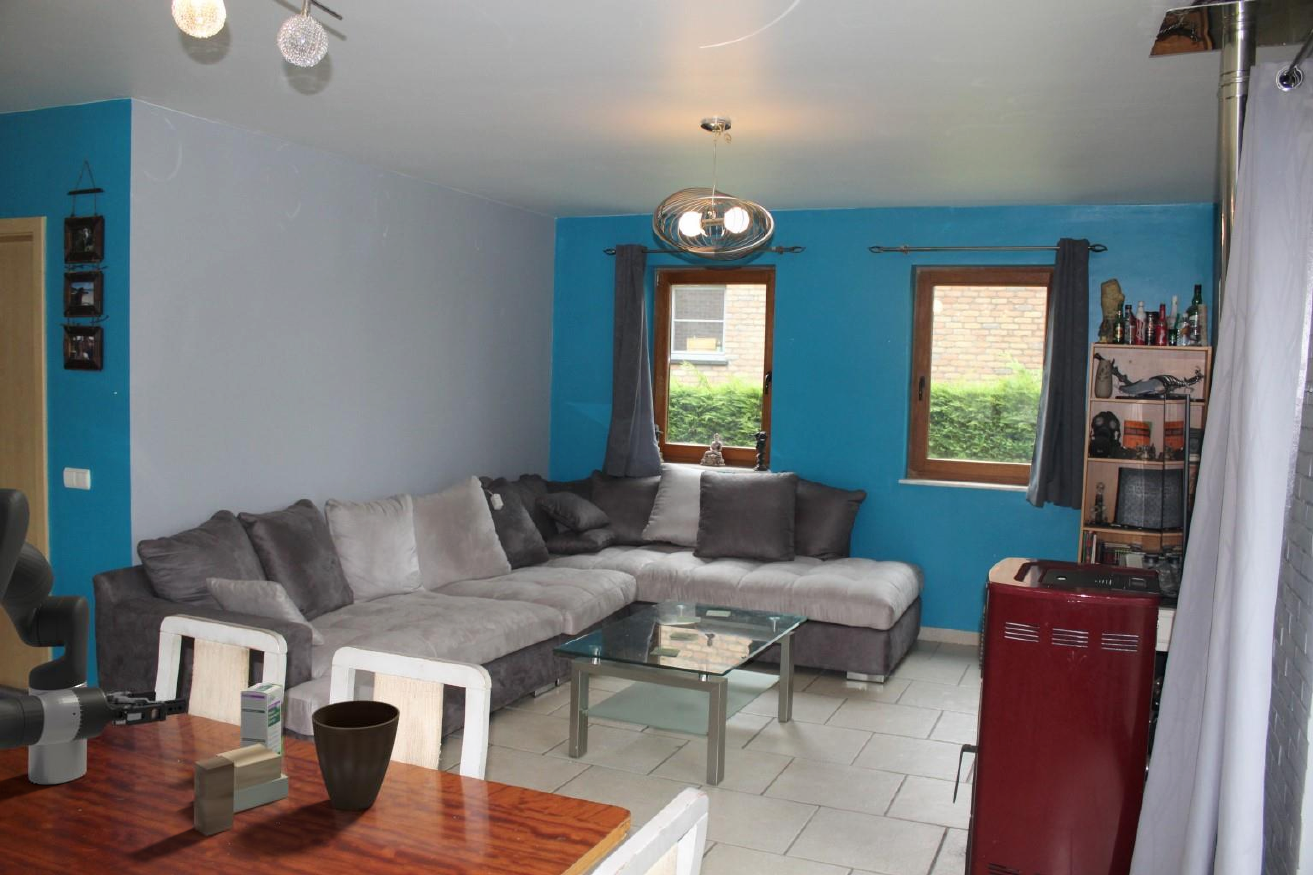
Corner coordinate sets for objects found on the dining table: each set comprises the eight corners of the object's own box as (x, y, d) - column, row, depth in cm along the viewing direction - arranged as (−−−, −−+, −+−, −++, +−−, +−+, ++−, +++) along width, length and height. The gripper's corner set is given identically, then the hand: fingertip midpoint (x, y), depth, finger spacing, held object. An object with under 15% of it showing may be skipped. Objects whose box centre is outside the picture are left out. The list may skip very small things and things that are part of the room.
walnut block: (193, 827, 170) (194, 762, 170) (220, 819, 174) (221, 755, 173) (206, 836, 167) (207, 769, 167) (233, 827, 171) (234, 762, 170)
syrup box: (267, 767, 197) (268, 692, 196) (239, 764, 198) (240, 689, 197) (283, 757, 202) (284, 684, 201) (256, 753, 203) (257, 681, 203)
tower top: (215, 776, 183) (216, 754, 182) (259, 765, 189) (259, 743, 188) (237, 789, 177) (237, 767, 177) (281, 777, 183) (281, 755, 183)
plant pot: (415, 795, 186) (417, 708, 185) (358, 827, 173) (360, 733, 172) (350, 779, 192) (352, 695, 191) (291, 808, 179) (292, 717, 178)
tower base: (206, 797, 183) (207, 775, 183) (260, 782, 190) (260, 761, 190) (233, 815, 176) (234, 792, 176) (288, 798, 184) (288, 776, 184)
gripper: (92, 696, 147) (197, 683, 161) (42, 682, 155) (146, 671, 169) (87, 750, 147) (193, 732, 160) (38, 733, 155) (142, 717, 168)
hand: (169, 701), depth 165 cm, fingers open, 8 cm apart
